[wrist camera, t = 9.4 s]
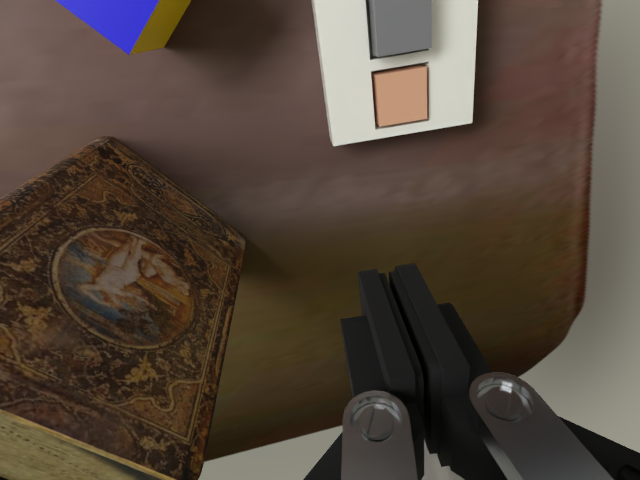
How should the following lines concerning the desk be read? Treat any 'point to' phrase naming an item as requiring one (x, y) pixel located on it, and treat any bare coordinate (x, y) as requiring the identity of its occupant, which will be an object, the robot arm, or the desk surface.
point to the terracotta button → (400, 94)
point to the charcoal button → (400, 26)
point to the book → (110, 321)
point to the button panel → (358, 62)
